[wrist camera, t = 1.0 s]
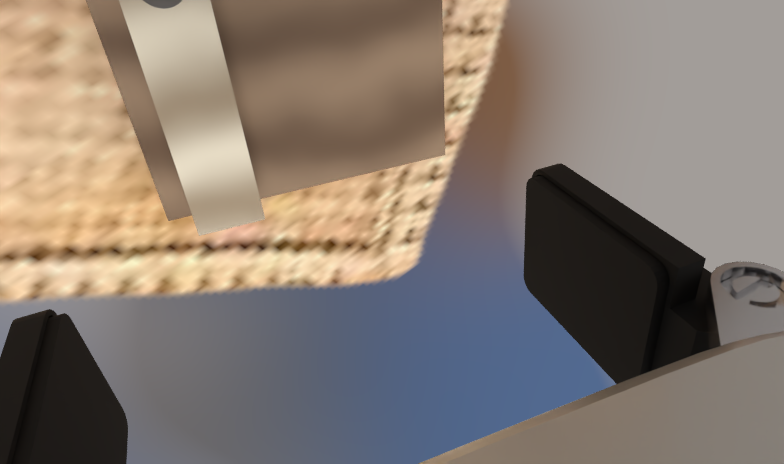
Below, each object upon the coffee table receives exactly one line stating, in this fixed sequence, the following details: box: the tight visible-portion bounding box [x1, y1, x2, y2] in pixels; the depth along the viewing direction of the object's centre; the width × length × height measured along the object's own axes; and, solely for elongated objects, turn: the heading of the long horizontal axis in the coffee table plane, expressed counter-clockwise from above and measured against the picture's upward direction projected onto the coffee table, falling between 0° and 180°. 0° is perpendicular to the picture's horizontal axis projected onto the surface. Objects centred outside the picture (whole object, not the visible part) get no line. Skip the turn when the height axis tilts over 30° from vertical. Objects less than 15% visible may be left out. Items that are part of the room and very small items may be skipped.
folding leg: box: [119, 0, 265, 236], centre depth 31 cm, size 16×4×4 cm, turn 4°
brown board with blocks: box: [86, 0, 445, 221], centre depth 32 cm, size 22×20×6 cm
